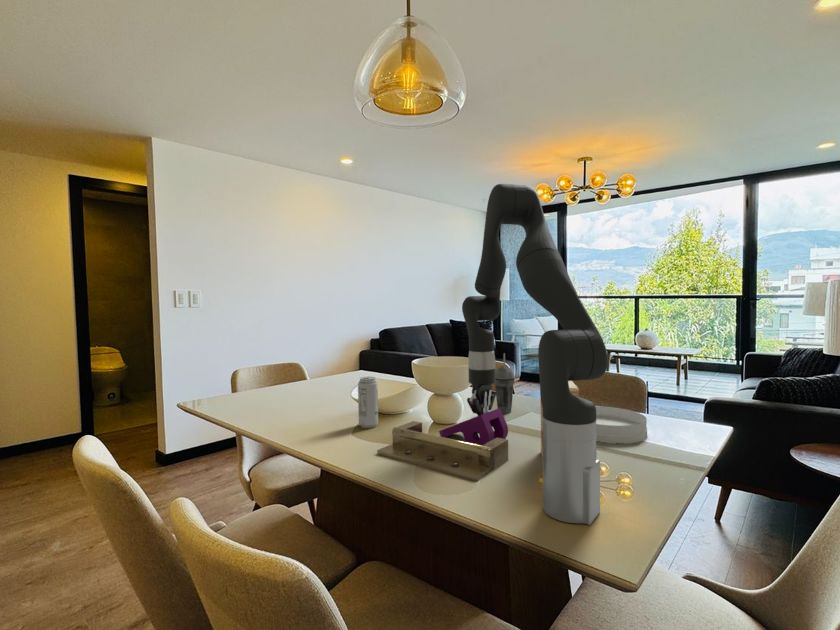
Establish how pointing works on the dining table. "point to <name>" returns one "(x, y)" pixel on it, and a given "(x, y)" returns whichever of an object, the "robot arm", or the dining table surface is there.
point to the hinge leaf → (445, 452)
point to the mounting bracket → (480, 428)
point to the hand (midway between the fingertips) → (482, 427)
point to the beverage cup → (504, 388)
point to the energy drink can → (368, 402)
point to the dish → (619, 425)
